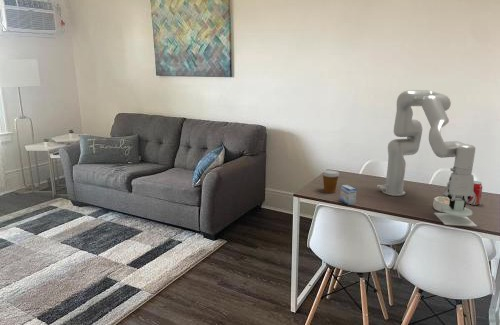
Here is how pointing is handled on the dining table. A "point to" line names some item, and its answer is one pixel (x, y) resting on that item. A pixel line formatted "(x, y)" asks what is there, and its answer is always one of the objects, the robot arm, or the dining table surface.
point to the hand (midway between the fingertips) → (456, 207)
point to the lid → (457, 209)
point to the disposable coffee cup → (330, 180)
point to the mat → (455, 220)
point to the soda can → (476, 194)
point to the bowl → (440, 203)
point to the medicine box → (348, 194)
